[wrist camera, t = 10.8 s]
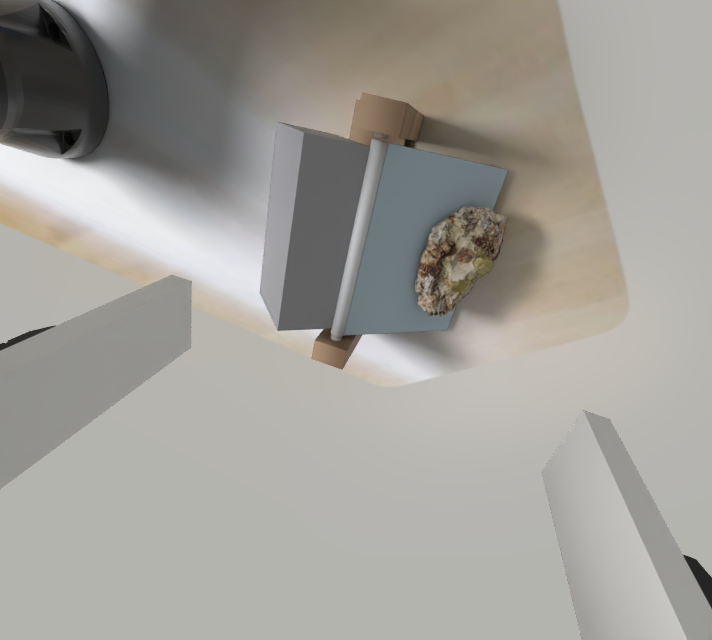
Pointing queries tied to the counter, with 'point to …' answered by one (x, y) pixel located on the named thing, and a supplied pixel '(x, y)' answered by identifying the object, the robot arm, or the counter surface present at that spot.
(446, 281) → the mineral rock
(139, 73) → the counter surface
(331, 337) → the frame
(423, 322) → the trapdoor
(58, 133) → the robot arm
